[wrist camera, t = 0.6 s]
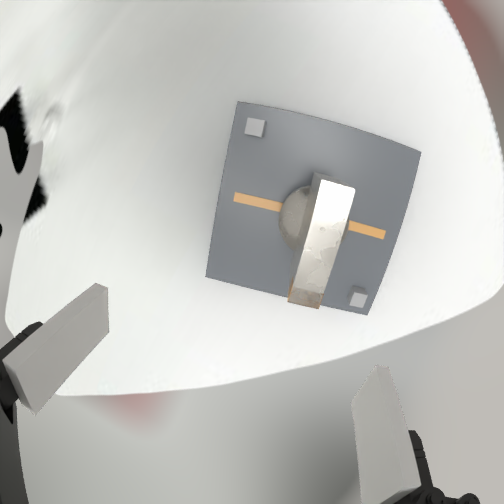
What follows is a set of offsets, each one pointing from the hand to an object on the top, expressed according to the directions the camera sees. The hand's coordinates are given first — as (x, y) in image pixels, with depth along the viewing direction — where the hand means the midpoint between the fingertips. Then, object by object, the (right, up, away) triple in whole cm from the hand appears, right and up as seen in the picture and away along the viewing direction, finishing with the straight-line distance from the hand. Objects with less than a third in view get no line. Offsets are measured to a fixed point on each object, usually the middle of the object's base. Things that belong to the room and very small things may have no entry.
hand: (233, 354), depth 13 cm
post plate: (+9, +10, +24) cm, 28 cm away
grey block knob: (+8, +9, +21) cm, 24 cm away
